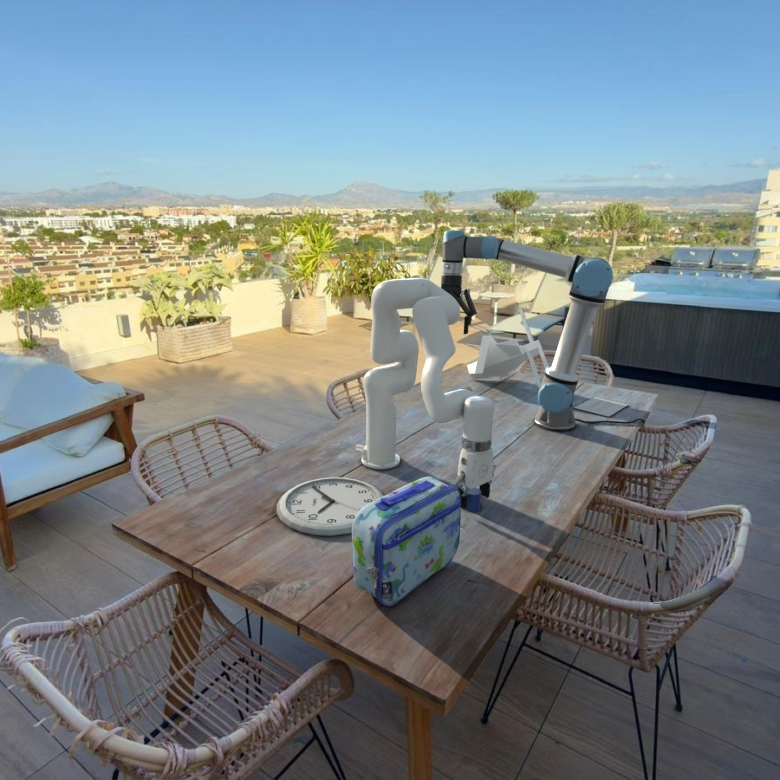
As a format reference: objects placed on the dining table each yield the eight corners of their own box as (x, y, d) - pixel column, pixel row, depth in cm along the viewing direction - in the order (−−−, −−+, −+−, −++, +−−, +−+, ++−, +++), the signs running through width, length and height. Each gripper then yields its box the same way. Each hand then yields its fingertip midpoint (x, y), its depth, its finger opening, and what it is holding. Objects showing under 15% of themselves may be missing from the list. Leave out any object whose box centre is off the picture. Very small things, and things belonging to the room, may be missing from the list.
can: (460, 507, 143) (461, 491, 141) (469, 501, 146) (470, 485, 145) (474, 513, 140) (475, 496, 139) (483, 506, 143) (484, 490, 142)
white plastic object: (488, 421, 262) (468, 398, 237) (469, 348, 284) (449, 320, 260) (560, 397, 250) (547, 371, 225) (534, 322, 272) (520, 291, 247)
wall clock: (392, 527, 129) (268, 531, 127) (391, 533, 130) (269, 537, 127) (383, 473, 158) (282, 475, 155) (383, 478, 158) (282, 480, 156)
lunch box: (381, 619, 101) (382, 525, 95) (345, 592, 109) (344, 503, 102) (464, 563, 119) (469, 480, 113) (428, 543, 126) (432, 464, 120)
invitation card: (608, 416, 214) (573, 407, 224) (608, 416, 214) (573, 408, 224) (628, 404, 229) (594, 396, 238) (628, 405, 229) (594, 397, 238)
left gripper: (466, 456, 129) (462, 518, 134) (508, 439, 140) (503, 496, 145) (443, 447, 135) (441, 506, 140) (485, 431, 146) (482, 486, 151)
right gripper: (416, 273, 193) (414, 329, 200) (480, 277, 182) (476, 337, 188) (425, 271, 200) (423, 326, 206) (488, 275, 188) (483, 333, 194)
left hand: (472, 501), depth 142 cm, fingers open, 9 cm apart
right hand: (448, 331), depth 197 cm, fingers open, 13 cm apart
